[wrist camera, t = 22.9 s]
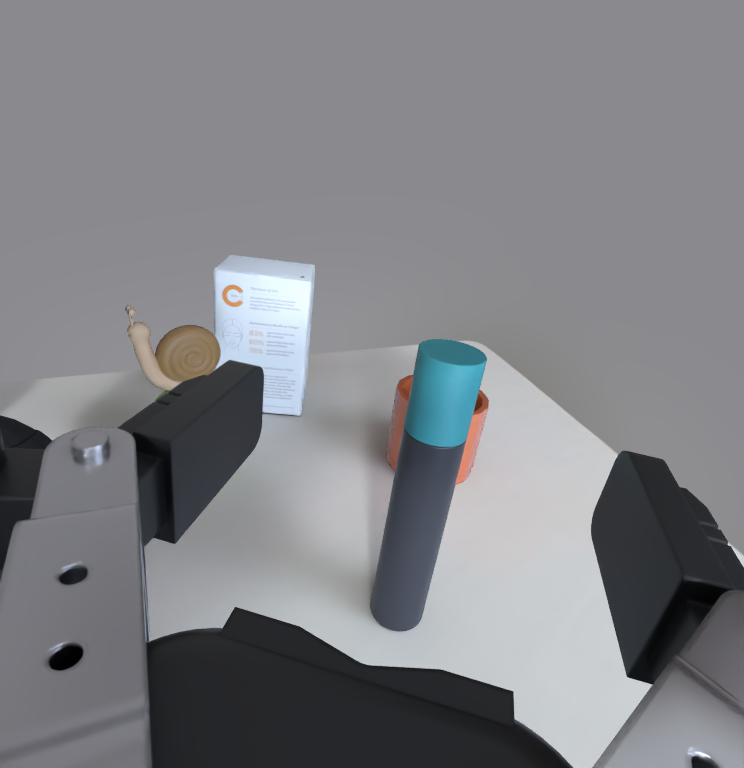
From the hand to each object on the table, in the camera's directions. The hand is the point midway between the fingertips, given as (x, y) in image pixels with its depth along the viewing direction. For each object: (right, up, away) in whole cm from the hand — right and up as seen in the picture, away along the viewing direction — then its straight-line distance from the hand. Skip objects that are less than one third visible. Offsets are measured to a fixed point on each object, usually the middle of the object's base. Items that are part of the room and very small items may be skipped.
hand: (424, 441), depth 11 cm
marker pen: (0, -12, +17) cm, 21 cm away
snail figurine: (-16, -4, +28) cm, 33 cm away
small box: (-12, 0, +38) cm, 40 cm away
